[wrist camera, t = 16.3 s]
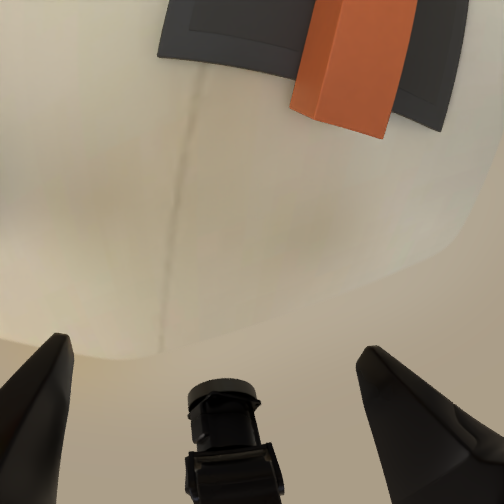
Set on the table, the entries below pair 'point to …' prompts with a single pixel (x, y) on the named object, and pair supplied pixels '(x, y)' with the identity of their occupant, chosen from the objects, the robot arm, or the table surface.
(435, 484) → the robot arm
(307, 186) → the table surface
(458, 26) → the dark grey flat panel
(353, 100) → the orange box
